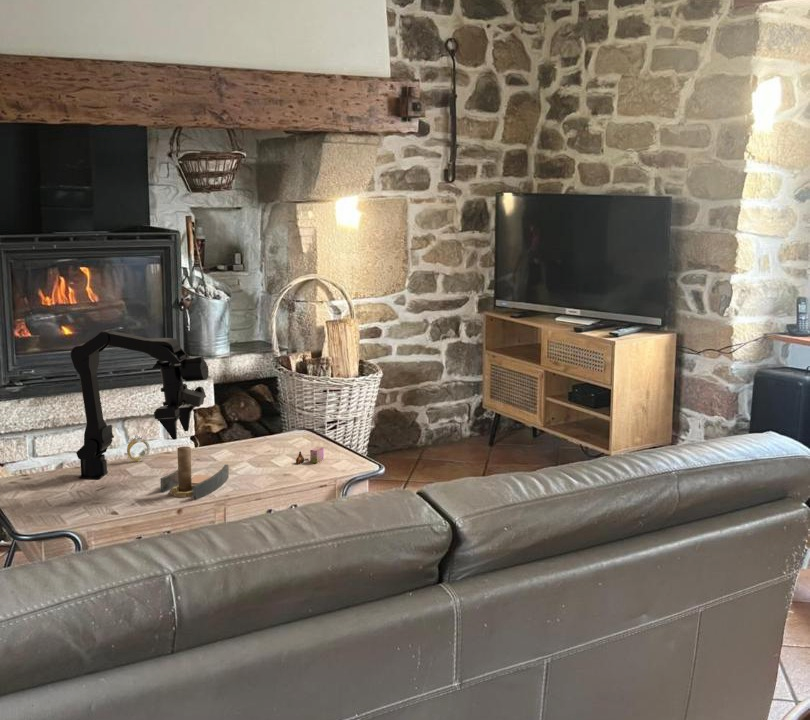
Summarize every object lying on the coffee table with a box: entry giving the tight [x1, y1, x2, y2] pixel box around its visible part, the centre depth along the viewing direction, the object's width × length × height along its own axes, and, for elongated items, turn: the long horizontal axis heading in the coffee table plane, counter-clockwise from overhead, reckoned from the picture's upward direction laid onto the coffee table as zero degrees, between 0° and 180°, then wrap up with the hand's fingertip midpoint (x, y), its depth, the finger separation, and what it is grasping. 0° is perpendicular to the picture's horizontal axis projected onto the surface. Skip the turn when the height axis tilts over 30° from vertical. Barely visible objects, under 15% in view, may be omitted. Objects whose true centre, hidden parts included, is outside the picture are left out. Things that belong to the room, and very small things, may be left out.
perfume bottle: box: [295, 446, 325, 465], centre depth 303 cm, size 12×12×4 cm
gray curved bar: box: [159, 464, 230, 501], centre depth 278 cm, size 16×21×4 cm
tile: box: [191, 474, 213, 485], centre depth 285 cm, size 8×8×1 cm
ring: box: [126, 435, 151, 463], centre depth 302 cm, size 7×3×8 cm, turn 118°
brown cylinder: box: [170, 446, 194, 498], centre depth 273 cm, size 7×7×13 cm
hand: (180, 435), depth 281 cm, fingers open, 9 cm apart
